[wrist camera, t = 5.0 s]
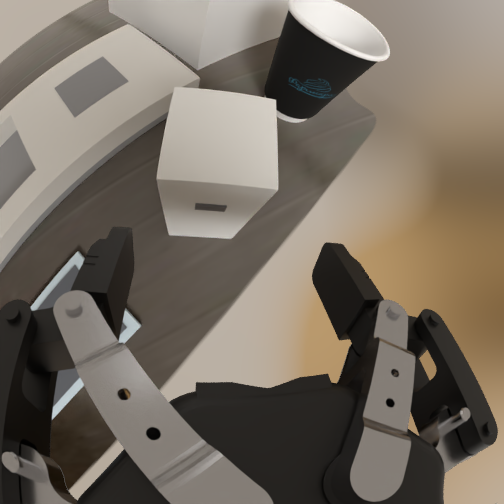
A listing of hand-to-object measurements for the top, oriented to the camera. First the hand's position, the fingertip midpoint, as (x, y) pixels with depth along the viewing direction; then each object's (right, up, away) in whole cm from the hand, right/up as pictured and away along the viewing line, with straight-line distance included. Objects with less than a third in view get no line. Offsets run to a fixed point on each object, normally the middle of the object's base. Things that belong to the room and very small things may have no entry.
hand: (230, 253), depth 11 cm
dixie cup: (+4, +14, +12) cm, 19 cm away
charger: (-3, +3, +8) cm, 9 cm away
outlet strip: (-16, +10, +6) cm, 20 cm away
